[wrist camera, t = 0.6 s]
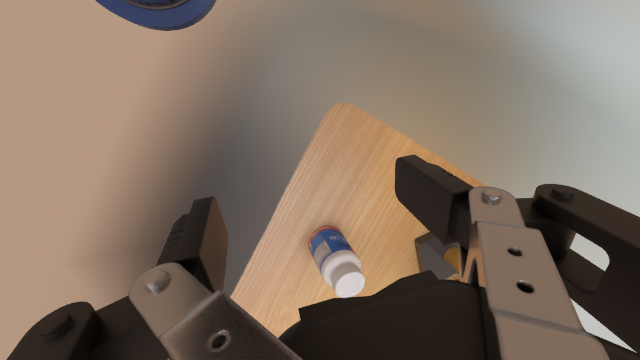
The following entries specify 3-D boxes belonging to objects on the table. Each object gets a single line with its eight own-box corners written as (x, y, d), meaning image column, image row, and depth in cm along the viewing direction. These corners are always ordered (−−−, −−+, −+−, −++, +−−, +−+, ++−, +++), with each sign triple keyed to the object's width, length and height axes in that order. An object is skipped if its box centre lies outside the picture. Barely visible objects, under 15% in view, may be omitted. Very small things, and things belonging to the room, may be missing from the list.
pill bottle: (347, 232, 41) (379, 274, 33) (328, 258, 42) (355, 307, 34) (320, 219, 39) (347, 262, 30) (301, 248, 40) (321, 297, 31)
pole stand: (471, 256, 54) (477, 261, 53) (422, 283, 52) (427, 289, 51) (469, 211, 49) (476, 215, 47) (414, 239, 47) (420, 244, 46)
